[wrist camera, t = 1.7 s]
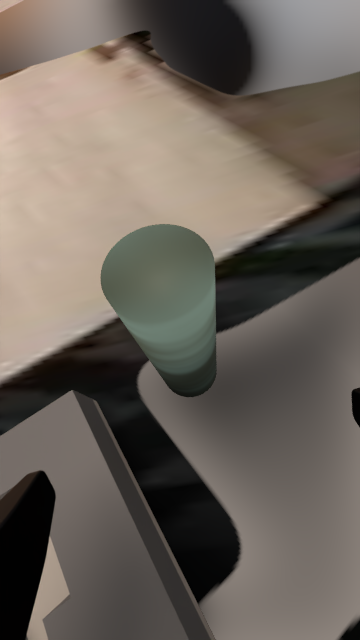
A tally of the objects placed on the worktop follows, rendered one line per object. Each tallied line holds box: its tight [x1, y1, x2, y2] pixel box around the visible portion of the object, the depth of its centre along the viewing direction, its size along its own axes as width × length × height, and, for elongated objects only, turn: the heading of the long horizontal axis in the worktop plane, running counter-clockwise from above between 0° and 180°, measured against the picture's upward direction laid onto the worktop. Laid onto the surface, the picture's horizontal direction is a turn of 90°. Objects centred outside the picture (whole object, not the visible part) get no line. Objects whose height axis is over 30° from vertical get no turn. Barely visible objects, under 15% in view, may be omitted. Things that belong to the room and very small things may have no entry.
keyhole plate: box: [0, 390, 215, 640], centre depth 15 cm, size 18×14×4 cm
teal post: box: [101, 224, 216, 397], centre depth 16 cm, size 4×4×13 cm
